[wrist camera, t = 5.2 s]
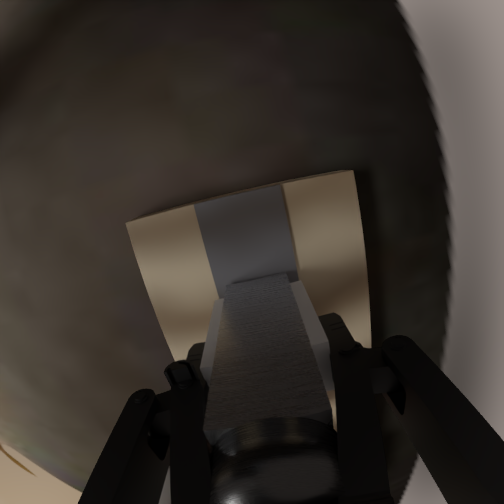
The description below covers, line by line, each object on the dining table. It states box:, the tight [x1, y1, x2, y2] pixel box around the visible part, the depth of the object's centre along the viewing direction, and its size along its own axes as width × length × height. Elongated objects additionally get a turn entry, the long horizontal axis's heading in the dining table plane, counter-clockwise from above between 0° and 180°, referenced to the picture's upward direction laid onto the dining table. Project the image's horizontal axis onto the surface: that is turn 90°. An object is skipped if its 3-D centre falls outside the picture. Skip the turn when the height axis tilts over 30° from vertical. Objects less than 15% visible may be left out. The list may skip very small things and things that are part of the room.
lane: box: [126, 170, 371, 432], centre depth 21 cm, size 38×14×5 cm, turn 13°
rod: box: [203, 273, 346, 504], centre depth 13 cm, size 12×5×14 cm, turn 13°
